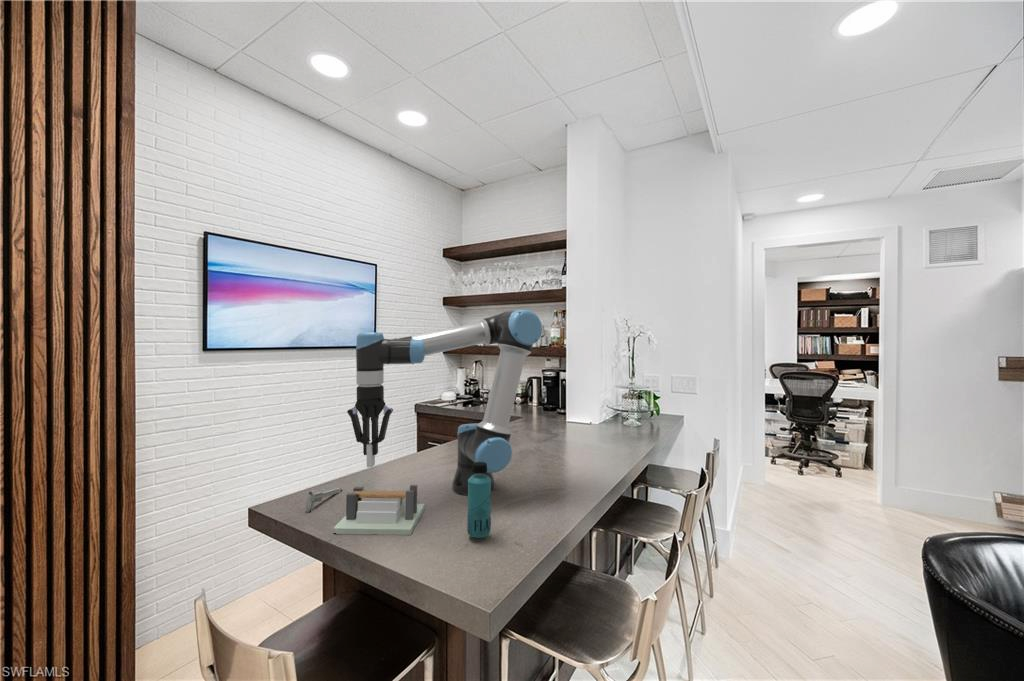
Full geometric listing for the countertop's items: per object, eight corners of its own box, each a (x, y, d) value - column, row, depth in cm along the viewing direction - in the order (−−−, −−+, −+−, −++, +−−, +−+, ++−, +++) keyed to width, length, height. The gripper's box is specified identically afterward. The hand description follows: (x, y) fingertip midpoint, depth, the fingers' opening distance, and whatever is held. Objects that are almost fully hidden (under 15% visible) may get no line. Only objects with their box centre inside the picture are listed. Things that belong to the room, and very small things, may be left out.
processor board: (424, 508, 133) (425, 478, 133) (410, 535, 115) (411, 499, 115) (357, 507, 133) (357, 477, 133) (333, 533, 115) (333, 498, 115)
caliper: (309, 513, 128) (309, 493, 128) (305, 513, 128) (306, 492, 128) (343, 490, 149) (344, 472, 149) (340, 490, 149) (341, 472, 149)
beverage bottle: (471, 545, 109) (472, 467, 109) (463, 534, 115) (464, 461, 115) (494, 541, 112) (495, 465, 112) (485, 530, 118) (486, 458, 118)
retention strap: (415, 503, 125) (415, 490, 125) (412, 507, 122) (412, 494, 122) (355, 502, 125) (355, 489, 125) (351, 506, 122) (351, 493, 122)
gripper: (396, 383, 127) (396, 462, 128) (352, 383, 127) (353, 462, 128) (388, 386, 120) (389, 469, 120) (342, 386, 120) (343, 470, 120)
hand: (370, 465), depth 124 cm, fingers closed
